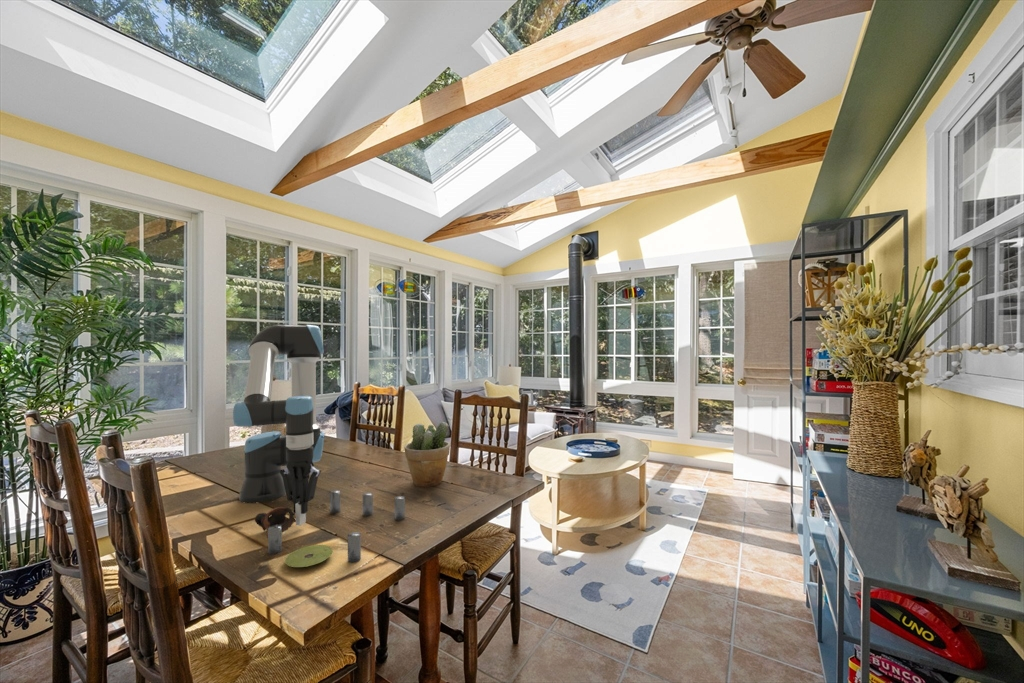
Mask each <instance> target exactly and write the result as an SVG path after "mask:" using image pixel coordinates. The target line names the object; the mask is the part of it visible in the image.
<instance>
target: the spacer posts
mask: <svg viewBox="0 0 1024 683" xmlns="http://www.w3.org/2000/svg"><path fill="white" fill-rule="evenodd" d="M329 495H330V496H329V499H330V500H329V502H330V504H329V505H330V506H329V507H330V508H329V511H330V512H329V513H330V514H333V515H334V514H338V513H340V512H341V502H342V501H341V498H342V497H341V490H340V489H339V490H337V489H335V490H332V491H330V492H329ZM373 498H374V494H373V492H370V491H369V492H363V494H362V517H370V516H373V515H374V499H373ZM405 518H406V496H404V495H399V496H398V495H397V496H396V497H394V520H395V521H403V520H405ZM267 532H268V538H267V540H268V542H267V544H268V545H267V547H268V548H267V549H268V550H267V551H268V552H267V553H268V555H276V554H277V555H278V554H279V553H281V552H282V550H283V548H282V546H283V543H282V542H283V540H282V534H283V532H282V526H281V525H273V526H270V527H269V528H268V530H267ZM361 537H362V535H361V532H359V531H352V532H350V533H348V534H347V563H349V564H355V563H359V562H360V561H361V559H362V555H361V554H362V546H361V544H362V543H361V542H362V541H361V540H362V539H361Z"/></svg>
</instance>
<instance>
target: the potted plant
mask: <svg viewBox="0 0 1024 683" xmlns="http://www.w3.org/2000/svg"><path fill="white" fill-rule="evenodd" d="M448 431H449V424H448V423H447V422H445V421H442V422H439V424H438V425H437V427H436V429H435V427H434V425H432V424H429V425H428V427H427V428H425V425H424V424H422V423H417V424H415V425H413V427H412V435H411V437H412V440H411V442H409V443H407V444H405V445H404V446H403V447H404V455H405V458H406V460H407V465H408V469H409V472H410V476H411V479H412V483H413V485H415V486H417V487H421V488H425V487H426V488H427V487H434V486H435V487H436V486H438V485H440V484H441V483H442V481H443V478H444V476H445V472H446V468H447V464H448V460H449V459H448V458H449V457H448V456H449V455H450V450H451V443H450V442H449V441H447V440H446V436H447V433H448Z"/></svg>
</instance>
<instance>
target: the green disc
mask: <svg viewBox="0 0 1024 683" xmlns="http://www.w3.org/2000/svg"><path fill="white" fill-rule="evenodd" d="M333 553H334V551H333V549H332V547H331V546H328V545H327V544H313V545H306V546H303V547H299V548H298V549H296V550H294V551H292V552H290V553H288V555H287V556H286V557H285V559H284V564H285V565H287V566H289V567H293V568H304V567H306V568H307V567H310V566H311V567H312V566H314V565H317V564H320V563H322V562H324V561H325V560H327V559H328V558H330V557H331V556H332V554H333Z"/></svg>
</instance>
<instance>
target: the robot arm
mask: <svg viewBox="0 0 1024 683" xmlns="http://www.w3.org/2000/svg"><path fill="white" fill-rule="evenodd" d="M324 352H325V350H324V345H323V337H322V332H321V328H320V326H318V325H313V324H273V325H270V326H268V327H266V328H264V329H262V330H260V331H259V332H258V333H257V334H256V335H255V336H254V337H253V339H252V340H251V342H250V344H249V346H248V355H249V357H250V361H249V367H248V372H247V379H246V385H245V390H244V397H243V401H241V402H237V403H235V404H234V406H233V410H232V411H233V412H232V413H233V414H232V419H233V425H234V426H236V427H242V428H243V427H246V428H247V427H249V428H250V427H258V426H268V425H280V424H285V434H282V432H281V431H278V430H274V431H266V432H263V433H262V432H261V433H259V434H255V435H252V436H250V437H248V438H247V439H246V440H245V442H244V450H243V452H244V480H243V483H242V486H241V489H240V491H239V493H238V494H239V495H238V496H239V497H238V499H239V500H240V501H241V503H243V502H245V503H244V504H257V503H256V502H261V503H265V501H266V502H270V501H274V500H276V498H277V499H279V498H281V497H283V496H285V495H286V496H285V497H286V499H287V501H289V502H292V504H293V513H294V514H295V520H296V522H295V526H301V525H303V524H304V523H307V513H308V503H309V502H310V501H312V500H314V498H315V493H316V490H317V483H318V479H319V476H320V474H321V473H322V470H321V469H320V468H319V469H317V468H316V467H315V465H314V464H315V463H318V462H319V461H320V460H321V459H322V455H323V450H324V442H325V439H324V438H325V431H323V430H321V426H320V425H319V424H318V423H317V377H316V376H317V371H316V370H317V367H316V366H317V362H318V361H319V360H320V357H321V355H323V354H324ZM279 355H282V356H283V355H286V359H287V361H289V362H290V363H291V396H290V397H287V398H286V399H283V400H281V399H280V400H272V392H273V382H274V381H273V380H274V370H275V361H276V359H277V357H279ZM282 467H283V468H282ZM285 493H286V494H285ZM284 494H285V495H284ZM278 497H279V498H278ZM273 499H274V500H273ZM239 500H238V501H239ZM269 500H270V501H269ZM240 501H239V502H240Z"/></svg>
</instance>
